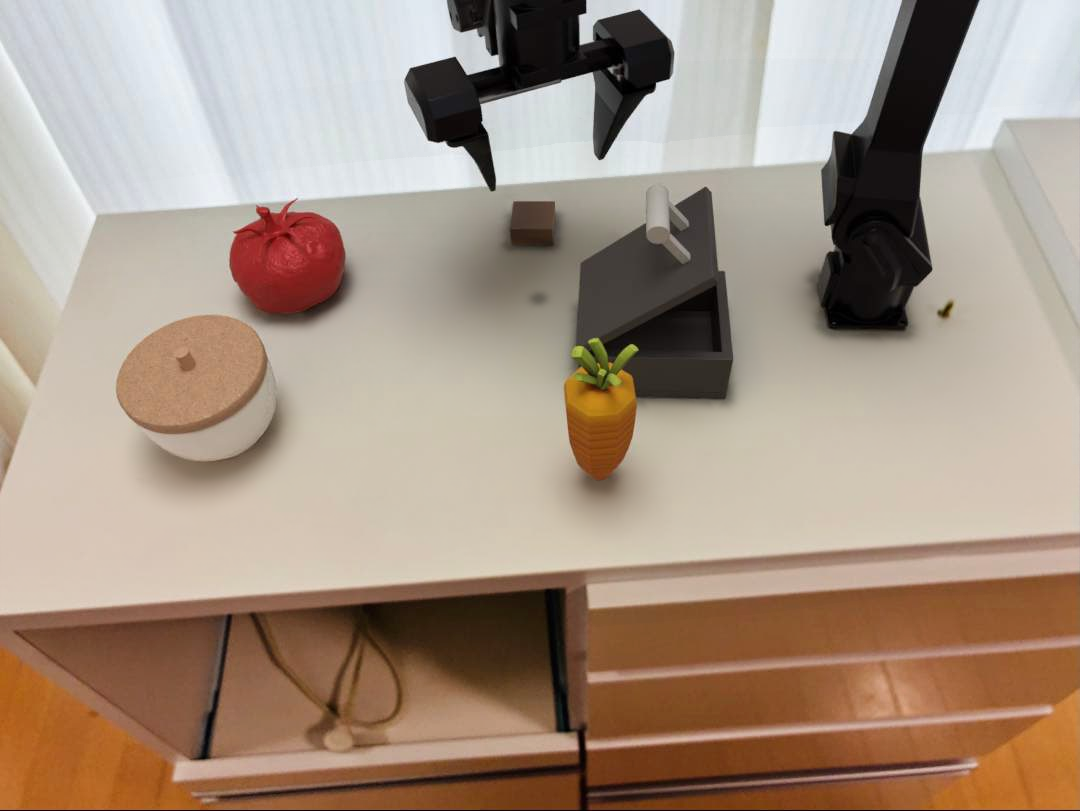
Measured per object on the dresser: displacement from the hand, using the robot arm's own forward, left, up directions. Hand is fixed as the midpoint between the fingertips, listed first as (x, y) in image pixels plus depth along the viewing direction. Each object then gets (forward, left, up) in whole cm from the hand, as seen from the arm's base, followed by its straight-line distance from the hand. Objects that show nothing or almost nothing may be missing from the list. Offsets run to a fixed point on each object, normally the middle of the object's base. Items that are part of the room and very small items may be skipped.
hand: (545, 172), depth 65 cm
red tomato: (+23, +1, -12) cm, 26 cm away
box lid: (-8, +9, -3) cm, 12 cm away
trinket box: (+25, +17, -12) cm, 33 cm away
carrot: (-5, +21, -12) cm, 25 cm away
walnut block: (+2, -7, -12) cm, 14 cm away
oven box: (-9, +8, -12) cm, 17 cm away
